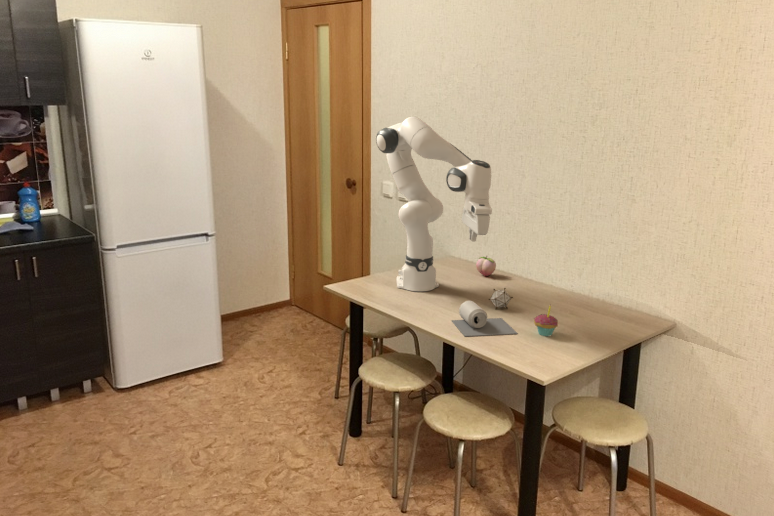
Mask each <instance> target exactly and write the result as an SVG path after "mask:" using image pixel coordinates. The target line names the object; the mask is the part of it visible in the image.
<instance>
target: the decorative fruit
mask: <svg viewBox="0 0 774 516" xmlns="http://www.w3.org/2000/svg"><path fill="white" fill-rule="evenodd" d="M475 267H476V270H477V271H478V272H479V273H480V274H481V276H484V277H488V276H490V275H492V274H494V272H495V270H496V267H497V263H496V261H495V259H493V258H491V257H488V255H486V256H480V257H479V258H478V260H477V261H476V264H475Z"/></svg>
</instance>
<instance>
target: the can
mask: <svg viewBox="0 0 774 516" xmlns="http://www.w3.org/2000/svg"><path fill="white" fill-rule="evenodd" d="M458 313H459V316H460V317H461V318H462V320H465V321H466V322H467V323H468V324H469V325H470V326H471V327H473V328H481V327H483V326H484V325H485V324H486V322H487V319H488V314H487V312H486V310H484V309H483V308H482V307H481V306H479V305H478V304H477V303H476V302H474V301H472V300H466V301H464V302H463V303H461V304H460V306H459V309H458Z"/></svg>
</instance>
